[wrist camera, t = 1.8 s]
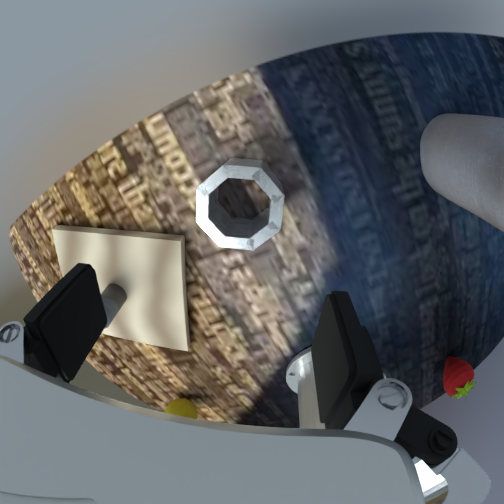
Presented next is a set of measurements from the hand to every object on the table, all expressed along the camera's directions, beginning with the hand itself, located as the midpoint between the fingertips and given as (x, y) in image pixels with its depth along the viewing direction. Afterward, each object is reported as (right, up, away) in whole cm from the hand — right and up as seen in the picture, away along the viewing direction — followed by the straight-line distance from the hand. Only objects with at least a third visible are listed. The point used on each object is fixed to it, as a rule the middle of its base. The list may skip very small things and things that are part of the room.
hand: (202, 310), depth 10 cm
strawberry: (+36, -16, +26) cm, 47 cm away
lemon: (-10, -23, +32) cm, 41 cm away
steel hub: (+1, +8, +16) cm, 18 cm away
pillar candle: (+24, +13, +13) cm, 30 cm away
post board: (-15, -2, +22) cm, 27 cm away
